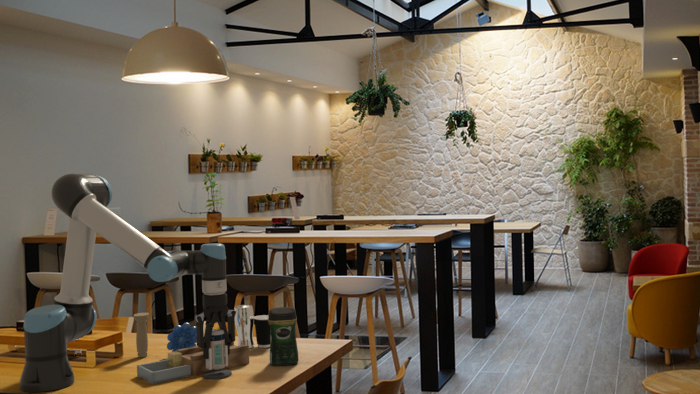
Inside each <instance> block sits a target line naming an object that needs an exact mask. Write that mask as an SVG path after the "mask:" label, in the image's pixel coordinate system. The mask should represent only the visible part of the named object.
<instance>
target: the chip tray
mask: <svg viewBox="0 0 700 394" xmlns="http://www.w3.org/2000/svg"><path fill="white" fill-rule="evenodd" d="M167 363H168V358H167V359H162V360H158V361H154V362H148V363H143V364H138V365H136V372H137V373H136V375H137V377H138V378H140V379H141V380H143V381H145V382H147V383H149V384H151V385H157V384H162V383H165V382H170V381H174V380H179V379H184V378H188V377H191V376H192V374H191V366H190V365H184V366H179V367H175V368H170V369H168V364H167Z"/></svg>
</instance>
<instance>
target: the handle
mask: <svg viewBox="0 0 700 394" xmlns="http://www.w3.org/2000/svg"><path fill="white" fill-rule="evenodd" d="M149 318H150V314H149V312H138V313H135V314H133V319H134V320H135V321H136V336H135V337H136V338H135V339H136V340H135V342H136V344H135V345H136V353H137V357H138V358H142V359H143V358H146V357H148V350H149V349H148V348H149V339H148V327H147V325H148V324H147V320H148V319H149Z"/></svg>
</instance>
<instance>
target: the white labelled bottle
mask: <svg viewBox="0 0 700 394" xmlns="http://www.w3.org/2000/svg"><path fill="white" fill-rule="evenodd" d="M209 348H211V349H212V369H213V370H220V369H223V368H224V367H225V337H224V331H223V329H220V328H213V330H212V334H211V340H210V346H209Z"/></svg>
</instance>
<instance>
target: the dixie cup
mask: <svg viewBox="0 0 700 394" xmlns="http://www.w3.org/2000/svg"><path fill="white" fill-rule="evenodd" d="M268 316H269V314H267V315H266V314H262V315H256V316H255V315H254V326H255V327H254V328H255V337H256V344H257V348H260V349H264V348H265V349H267V348H270V326H269V323H268Z"/></svg>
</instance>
